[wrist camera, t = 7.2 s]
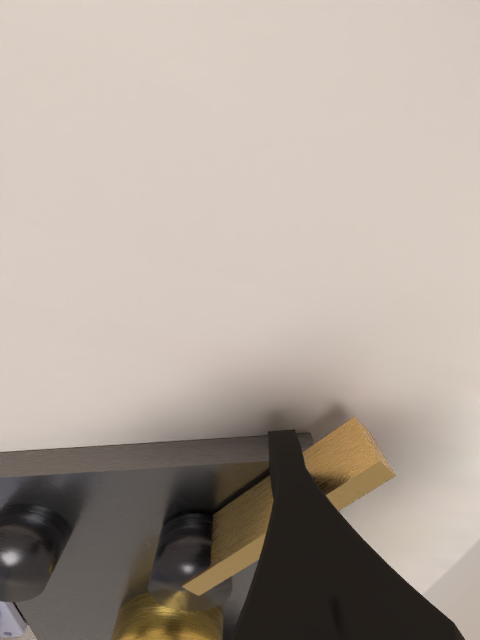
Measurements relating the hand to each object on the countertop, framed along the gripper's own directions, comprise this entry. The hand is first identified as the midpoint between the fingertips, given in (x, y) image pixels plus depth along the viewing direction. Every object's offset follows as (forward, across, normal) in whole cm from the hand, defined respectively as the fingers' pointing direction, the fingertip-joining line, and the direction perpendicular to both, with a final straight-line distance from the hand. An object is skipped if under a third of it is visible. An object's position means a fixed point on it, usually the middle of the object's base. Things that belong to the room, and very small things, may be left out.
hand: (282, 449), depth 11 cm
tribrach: (+2, +7, +12) cm, 14 cm away
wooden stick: (+1, +1, +3) cm, 4 cm away
